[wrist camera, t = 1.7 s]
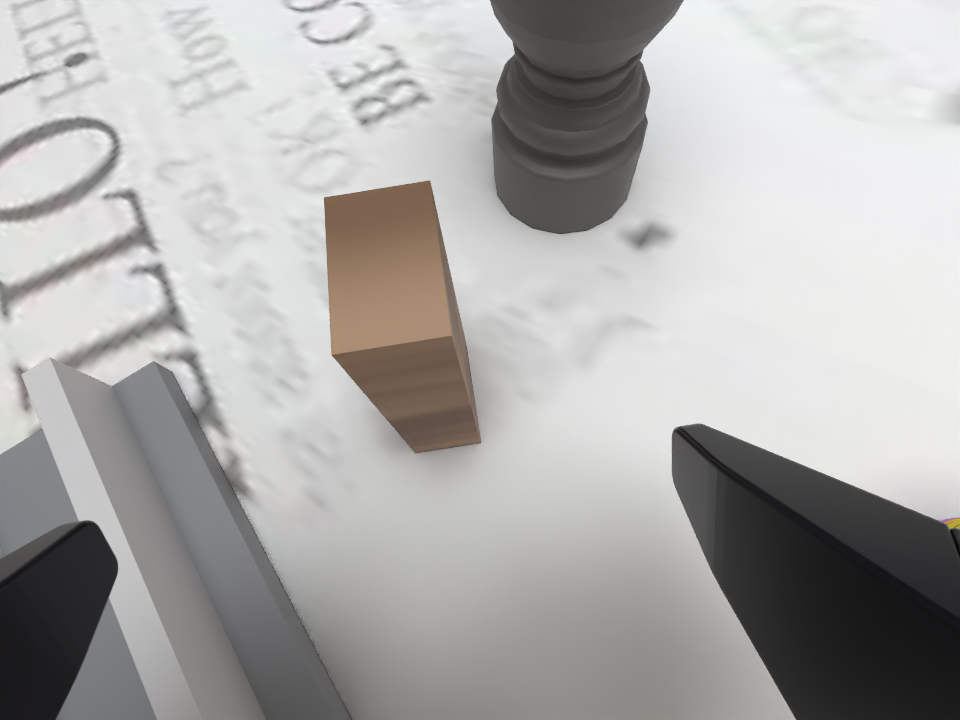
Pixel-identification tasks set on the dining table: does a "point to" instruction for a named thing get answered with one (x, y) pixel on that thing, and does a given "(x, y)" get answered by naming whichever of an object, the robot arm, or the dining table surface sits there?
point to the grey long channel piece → (160, 558)
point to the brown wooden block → (399, 314)
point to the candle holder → (572, 107)
